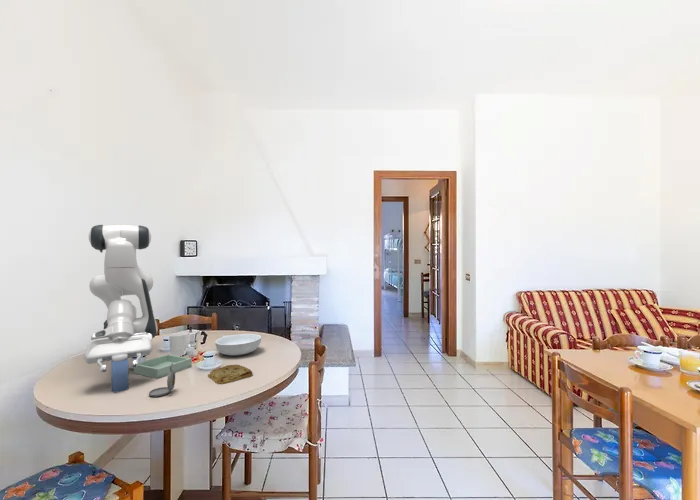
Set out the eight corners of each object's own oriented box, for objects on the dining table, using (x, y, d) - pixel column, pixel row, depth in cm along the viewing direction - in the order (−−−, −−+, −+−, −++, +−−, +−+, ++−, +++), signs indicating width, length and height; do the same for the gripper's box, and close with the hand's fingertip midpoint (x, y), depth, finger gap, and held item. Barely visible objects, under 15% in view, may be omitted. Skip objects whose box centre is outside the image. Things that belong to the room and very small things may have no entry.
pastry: (217, 369, 143) (217, 362, 143) (259, 369, 142) (259, 362, 142) (197, 385, 126) (197, 377, 126) (244, 385, 125) (243, 377, 125)
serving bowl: (228, 346, 177) (228, 333, 177) (267, 347, 174) (267, 333, 174) (206, 359, 156) (206, 344, 156) (250, 360, 153) (250, 344, 153)
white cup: (180, 358, 159) (180, 336, 159) (165, 357, 160) (165, 335, 160) (191, 353, 166) (191, 332, 166) (177, 352, 168) (176, 331, 168)
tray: (133, 373, 139) (133, 364, 139) (168, 362, 152) (168, 354, 152) (158, 378, 132) (157, 369, 132) (191, 366, 146) (191, 358, 146)
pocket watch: (146, 394, 117) (145, 364, 117) (172, 386, 124) (171, 358, 124) (154, 400, 112) (154, 369, 112) (181, 392, 118) (181, 363, 118)
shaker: (108, 390, 121) (107, 356, 121) (123, 385, 125) (122, 352, 126) (116, 393, 119) (116, 358, 119) (131, 387, 123) (131, 354, 123)
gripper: (151, 336, 138) (153, 367, 129) (87, 344, 127) (84, 378, 118) (152, 327, 134) (153, 358, 126) (86, 334, 123) (83, 369, 115)
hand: (119, 368), depth 122 cm, fingers open, 8 cm apart
